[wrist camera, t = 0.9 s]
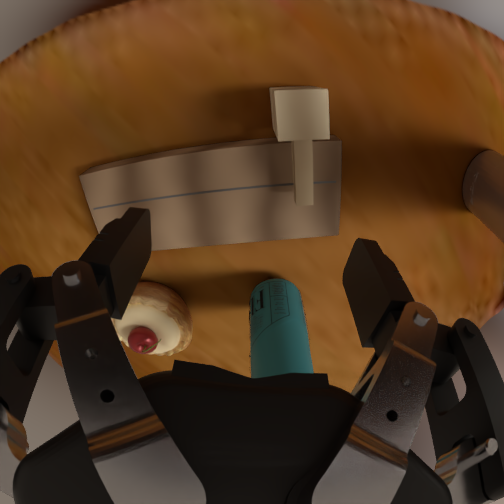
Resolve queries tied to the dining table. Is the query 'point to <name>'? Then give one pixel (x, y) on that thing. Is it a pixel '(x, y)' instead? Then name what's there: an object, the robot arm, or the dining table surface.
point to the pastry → (155, 321)
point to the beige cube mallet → (301, 130)
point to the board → (220, 193)
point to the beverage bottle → (278, 330)
